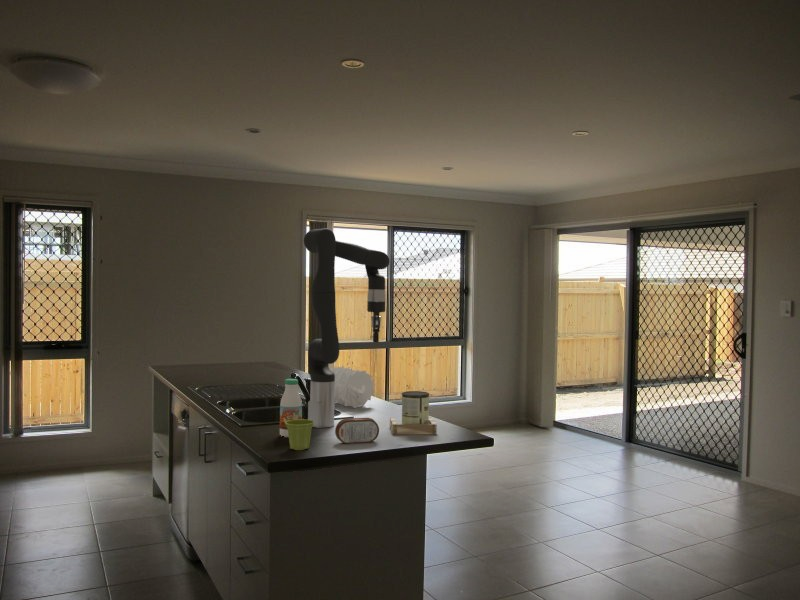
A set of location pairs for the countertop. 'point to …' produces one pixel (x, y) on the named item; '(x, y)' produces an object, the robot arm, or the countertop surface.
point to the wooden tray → (413, 428)
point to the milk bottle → (290, 405)
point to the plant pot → (299, 433)
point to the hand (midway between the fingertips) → (375, 342)
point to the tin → (357, 430)
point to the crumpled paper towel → (352, 386)
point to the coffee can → (415, 407)
